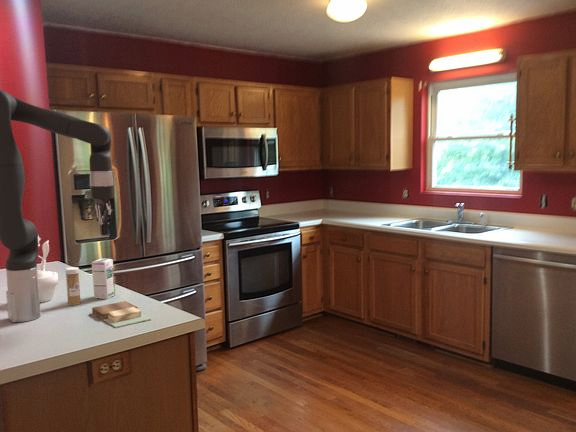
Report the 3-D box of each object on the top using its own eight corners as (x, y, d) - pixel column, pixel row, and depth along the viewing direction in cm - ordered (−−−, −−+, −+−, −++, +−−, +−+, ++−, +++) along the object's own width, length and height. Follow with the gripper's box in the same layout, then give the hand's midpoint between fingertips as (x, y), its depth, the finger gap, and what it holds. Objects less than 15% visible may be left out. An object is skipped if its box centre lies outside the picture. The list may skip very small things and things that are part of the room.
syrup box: (107, 299, 200) (105, 261, 198) (93, 298, 201) (91, 261, 199) (115, 295, 205) (113, 258, 203) (101, 294, 206) (99, 258, 205)
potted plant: (52, 294, 207) (48, 231, 204) (64, 300, 199) (60, 234, 196) (18, 301, 198) (13, 235, 195) (29, 307, 190) (23, 238, 187)
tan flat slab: (103, 320, 175) (102, 314, 174) (92, 313, 182) (92, 307, 182) (137, 312, 182) (137, 307, 182) (126, 306, 190) (125, 301, 190)
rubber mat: (115, 327, 167) (115, 326, 166) (103, 320, 174) (103, 319, 174) (151, 319, 174) (150, 318, 174) (138, 313, 182) (138, 311, 182)
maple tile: (115, 322, 171) (114, 316, 171) (108, 318, 175) (107, 312, 175) (141, 316, 177) (141, 310, 176) (133, 312, 181) (133, 306, 181)
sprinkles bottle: (75, 306, 191) (72, 269, 189) (64, 305, 192) (62, 269, 191) (83, 302, 195) (81, 267, 194) (73, 301, 197) (71, 266, 195)
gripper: (83, 184, 181) (86, 234, 183) (97, 185, 171) (100, 238, 173) (105, 183, 186) (108, 231, 188) (120, 184, 176) (122, 236, 178)
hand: (104, 235), depth 181 cm, fingers closed
